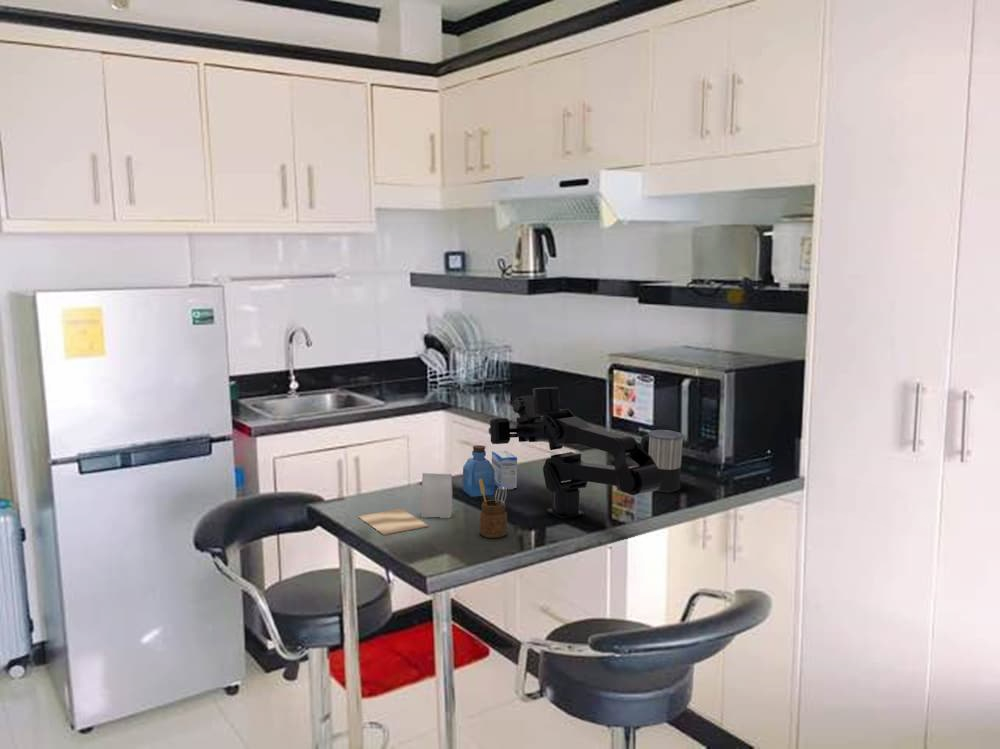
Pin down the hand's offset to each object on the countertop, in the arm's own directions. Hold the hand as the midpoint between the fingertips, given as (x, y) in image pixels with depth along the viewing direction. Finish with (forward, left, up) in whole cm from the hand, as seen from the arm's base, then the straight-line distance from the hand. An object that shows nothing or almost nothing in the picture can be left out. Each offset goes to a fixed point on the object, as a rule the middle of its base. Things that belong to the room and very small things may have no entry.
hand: (503, 429), depth 212 cm
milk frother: (-19, -34, -16) cm, 42 cm away
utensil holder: (-28, +21, -16) cm, 39 cm away
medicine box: (+2, -2, -16) cm, 16 cm away
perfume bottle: (0, +7, -16) cm, 18 cm away
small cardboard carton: (-11, +25, -16) cm, 32 cm away
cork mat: (-11, +36, -16) cm, 41 cm away
